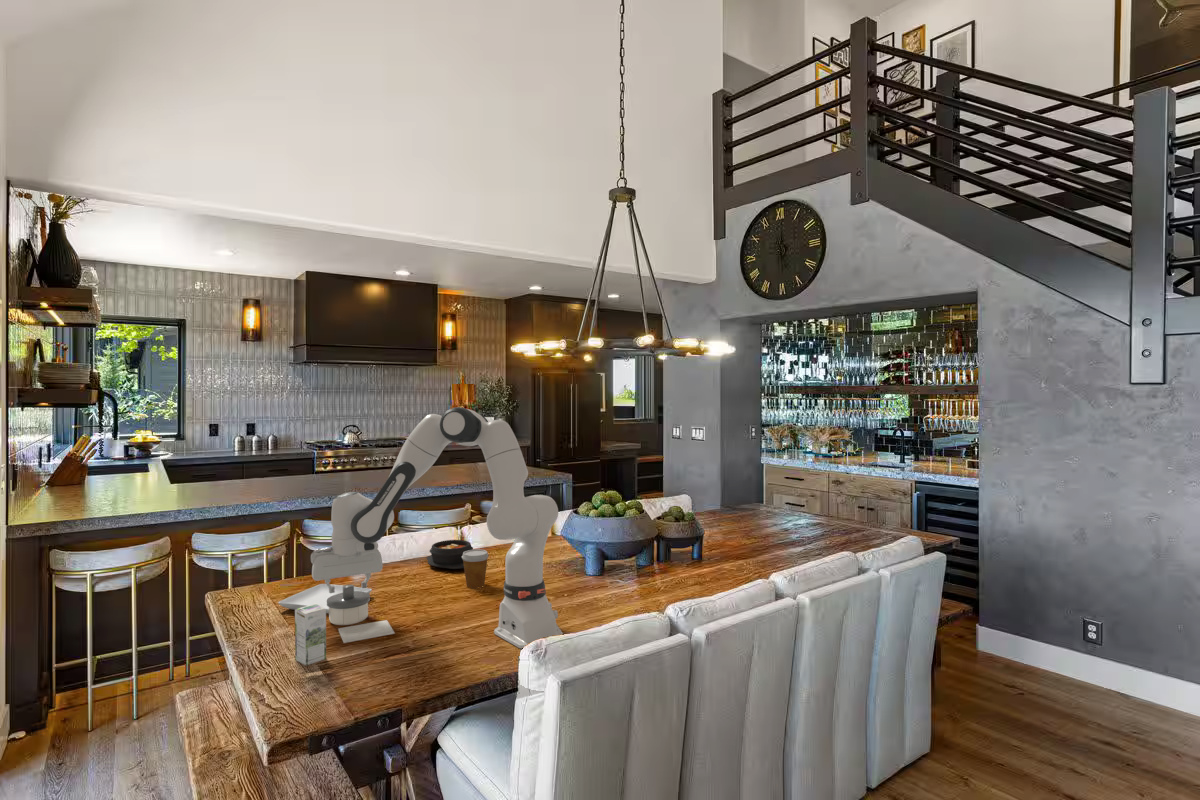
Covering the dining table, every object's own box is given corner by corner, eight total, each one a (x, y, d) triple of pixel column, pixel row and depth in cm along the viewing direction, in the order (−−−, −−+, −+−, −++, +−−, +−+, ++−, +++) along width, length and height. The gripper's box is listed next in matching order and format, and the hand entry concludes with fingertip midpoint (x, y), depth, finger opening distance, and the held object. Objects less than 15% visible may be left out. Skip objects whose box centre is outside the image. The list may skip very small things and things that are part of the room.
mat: (395, 635, 191) (394, 633, 191) (343, 645, 184) (343, 642, 184) (386, 622, 202) (386, 619, 202) (337, 631, 195) (337, 628, 195)
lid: (373, 604, 200) (372, 588, 200) (329, 611, 194) (329, 595, 194) (366, 592, 211) (365, 577, 211) (324, 599, 205) (324, 583, 205)
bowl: (370, 623, 201) (369, 604, 201) (332, 630, 196) (331, 610, 196) (364, 612, 210) (363, 593, 210) (327, 618, 205) (327, 599, 205)
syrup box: (316, 655, 178) (315, 602, 178) (327, 661, 174) (326, 607, 174) (295, 662, 174) (293, 608, 173) (306, 668, 170) (304, 613, 169)
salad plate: (373, 597, 226) (373, 587, 226) (332, 619, 206) (332, 608, 205) (321, 592, 232) (321, 582, 232) (276, 612, 211) (276, 602, 211)
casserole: (488, 567, 260) (488, 546, 260) (446, 576, 248) (446, 554, 247) (456, 554, 279) (456, 534, 278) (415, 563, 266) (415, 542, 266)
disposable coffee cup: (491, 581, 241) (491, 549, 241) (484, 590, 232) (484, 556, 231) (466, 581, 242) (466, 548, 242) (458, 589, 233) (458, 555, 232)
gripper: (311, 552, 194) (312, 598, 195) (383, 543, 204) (384, 587, 205) (309, 547, 200) (310, 592, 200) (379, 539, 210) (380, 582, 210)
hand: (348, 590), depth 203 cm, fingers open, 8 cm apart
